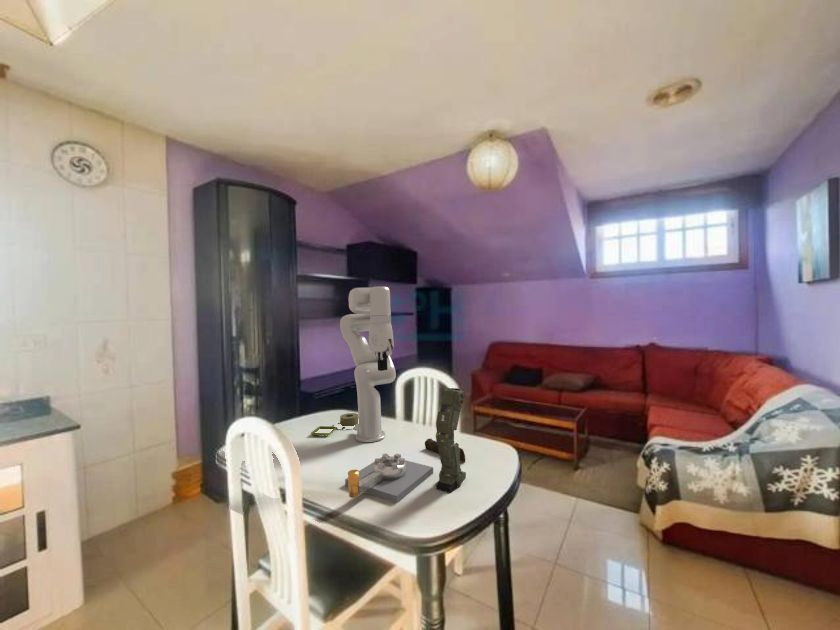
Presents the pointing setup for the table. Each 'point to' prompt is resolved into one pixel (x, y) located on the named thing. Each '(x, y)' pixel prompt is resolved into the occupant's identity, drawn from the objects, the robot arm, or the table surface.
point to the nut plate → (397, 481)
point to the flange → (349, 419)
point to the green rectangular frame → (323, 428)
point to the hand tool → (433, 446)
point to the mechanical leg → (449, 440)
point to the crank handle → (377, 474)
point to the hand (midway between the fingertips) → (382, 370)
